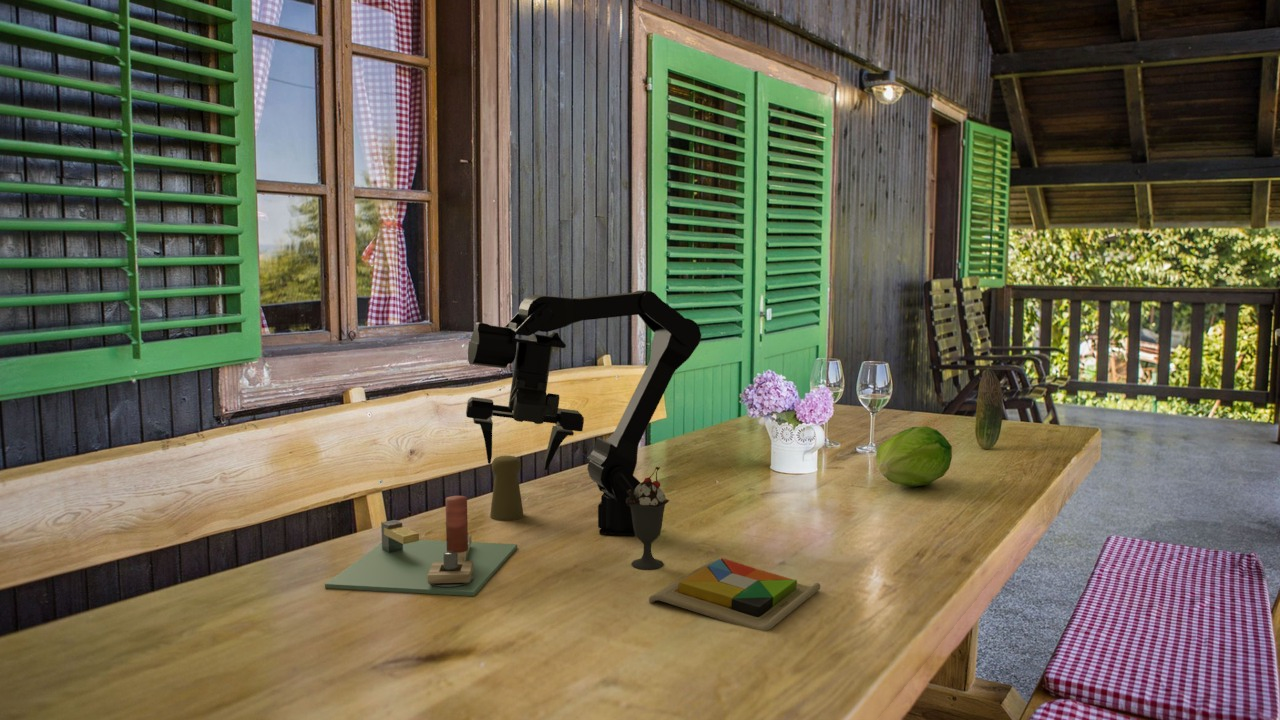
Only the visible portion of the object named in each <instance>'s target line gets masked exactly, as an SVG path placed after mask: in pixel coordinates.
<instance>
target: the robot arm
mask: <svg viewBox="0 0 1280 720" xmlns="http://www.w3.org/2000/svg"><path fill="white" fill-rule="evenodd" d="M636 315H637V316H639V319H640V320H642V322H643V323H644V324H645V326H647V327H648V328H649V330H651V331H652V332H653V333H654V334H653V337H652V340H651V344H650V358H649V362H648V363H647V366H646V367H645V370H644V372H643V374H642V376H641V378H640V380H639V382H638V383H637V386H636V388H635V390H634V391H633V394H632V396H631V398H630V399H629V401H628V404H627V406H626V408H625V410H624V412H623V413H622V416H621V418H620V420H619V422H618V424H617V425H616V428H615V430H614V431H613V433H612V434H611V435H610V436H609V437H607V438H606V439H603V438H601V437H598V438H597V439H596V441H595V444H594V446H593V450H592V451H591V453H590V454H589V455H588V456H586V459H587V460H589V461H588V464H587V471H588V472H587V473H588V474H589V478H590V479H591V480H592V481H593V482H594V483H596V484H597V485H596V486H597V487H598V491H600V492H602V495H601V497H600V502H599V503H598V505H597V527H598V528H599V531H598V533H599V534H600V535H611V536H612V535H614V536H635V537H636V535H635V533H634V528H633V521H632V513H631V508H630V506H627V504H626V499H627V498H628V497H630V496H629V495H628V492H627V491H628V490H629V489H631V491H632V492H633V494H634V491H635V488H636V487H637V486H638V485H639V483H641V481H640V480H638V478H636V477H635V475H634V474H635V470H636V467H637V464H638V451H639V450H638V449H639V444H640V443H641V440H642V438H643V436H644V434H645V432H646V430H647V428H648V427H649V424H650V423H651V420H652V418H653V416H654V414H655V412H656V410H657V408H658V405H659V404H660V402H661V400H662V398H663V395H664V394H665V392H666V390H667V388H668V385H669V384H670V382H671V379H672V378H673V376H674V374H675V372H676V371H677V370H678V369H679V368H680V367H681V366H682V365H683V364H684V363H685V362H687V361H688V360H689V359H690V357H692V355H693V353H694V352H695V350H696V349H697V347H698V346H699V344H700V342H701V339H702V332H701V330H700V326H699V325H698V323H697V322H696V321H694V319H690V318H687V317H684V316H683V315H682V314H681V313H680V312H679V311H677V310H676V309H674V308H672V307H671V306H670V305H669V304H667V303H666V302H665V301H664V300H662V299H661V298H660V297H659V296H658V295H657V294H656V293H655V292H653V291H649V290H636V291H634V292H623V293H613V294H603V295H592V296H583V297H574V298H573V297H566V296H565V297H563V296H562V297H561V296H554V295H553V296H552V295H542V294H541V295H540V294H532V295H529V296H528V295H527V296H526V297H525V298H524V299H523V300H522V301H521V302H520V304H519V307H518V312H517V313H515V315H514V316H513V317H512V318H511V319H510V320H509V321H508V322H507V323H506V324H505V325H504V326H498V325H491V324H489V323H484V322H478V321H477V322H476V323H475V328H474V330H473V332H472V335H471V336H470V337H471V338H470V340H469V341H468V347H467V360H468V364H469V365H471V366H472V365H473V366H480V367H488V368H497V369H507V367H508V365H511V364H513V363H514V366H513V367H514V368H513V372H512V373H513V374H512V378H511V379H512V380H511V386H510V391H509V392H510V393H509V398H508V399H509V400H508V406H507V405H501V404H494V401H493V399H490V398H482V397H481V398H480V397H474V396H471V397H470V398H468V399H467V403H466V411H465V416H466V418H470V419H472V420H473V423H474V424H475V425H479V427H480V429H481V432H482V435H483V440H484V446H485V451H486V458H487V464H492V456H493V424H494V422H493V420H492V418H493V417H501V418H509V419H513V420H514V421H516V422H521V423H524V422H529V423H534V424H535V425H541V424H543V423H547V424H554V425H552V427H551V432H550V436H549V441H548V445H547V450H546V454H545V457H544V465H543V470H544V471H547V470H548V469H549V467H550V464H551V462H552V460H553V458H554V456H555V455H556V453H557V450H558V449H559V447H560V446H561V444H562V442H563V441H564V440H565V439H566V438H567V437H568V436H570V437H571V436H573V437H574V434H575V432H583V429H584V423H585V422H584V421H585V419H584V416H583V414H582V413H580V411H579V410H575V409H567V408H560V407H559V405H560V394H558V393H557V394H556V393H551V392H548V393H547V391H548V389H547V388H548V381H549V374H550V368H551V361H552V354H553V348H560V349H566V347H567V345H566V343H565V341H564V340H562V339H561V337H560V334H559V333H558V332H556V330H559V329H561V328H566V327H568V326H570V325H572V324H575V323H578V322H582V321H591V320H599V319H610V318H618V317H627V316H636ZM538 332H543V333H547V332H551V333H550V334H548V335H543V334H538ZM536 333H537V334H536ZM517 335H518V336H525V337H528V338H519V337H516V336H517Z"/></svg>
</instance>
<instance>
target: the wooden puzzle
mask: <svg viewBox="0 0 1280 720" xmlns="http://www.w3.org/2000/svg"><path fill="white" fill-rule="evenodd" d="M819 590H821V584H820V583H818V582H816V583H814V584H812V586H808V585H805V584H801V583H798V580H797V579H793V578H790V577H787V576H783V575H779V574H777V573H772V572H769V571H765V570H761V569H758V568H755V567H752V566H749V565H745V564H743V563H739V562H737V561H733V560H730V559H726V558H723V557H721V558H718V559H717V560H710V561H708V562H706V563H705V564H703V565H701V566H700V567H698V568H697V569H695V570H694V571H692V572H690V573H688V574H686V575H685V576H684V577H681V578H680V579H678V580H676V581H675V582H672V583H670V584H669V585H668V586H666V587H664V588H662V589H661V590H659V591H657V592H655V593H653V594H651V595H650V596H649V597H648V602H649V604H654V603H656V602H658V601H660V602H664V603H666V604H669V605H672V606H675V607H679V608H682V609H684V610H689V611H692V612H694V613H698V614H701V615H704V616H707V617H710V618H713V619H716V620H718V621H722V622H725V623H729V624H733V625H735V626H740V627H743V628H748V629H753V630H757V631H761V632H768V631H770V630H771V629H773V628H774V627H775V626H777V625H778V624H779V623H780V622H781V621H783V619H785V618H786V617H787V616H788V615H789V614H791V613H792V612H793V611H795V610H796V609H797V608H798V607H800V606H801V605H802V604H803V603H805V602H806V601H807V600H808V599H810V598H811V597H812V596H814V594H816V593H817V592H818V591H819Z"/></svg>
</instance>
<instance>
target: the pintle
mask: <svg viewBox="0 0 1280 720" xmlns="http://www.w3.org/2000/svg"><path fill="white" fill-rule="evenodd" d="M443 557H444V572H445V571H458V552H456V551H447V552H444V553H443ZM473 580H474V576H473V574H472V575H471V579H470V582H466V583H429V584H430V585H432V586H435V587H440V588H453V587H460V586H464V585H467V584H469V583H471V582H472V581H473Z"/></svg>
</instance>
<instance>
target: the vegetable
mask: <svg viewBox="0 0 1280 720" xmlns="http://www.w3.org/2000/svg"><path fill="white" fill-rule="evenodd" d="M977 391H978V393H977V399H976V401H977V402H976V410H975V412H976V413H975V427H974V429H975V430H974V431H975V433H974V434H975V439H976V443H977V444H978V446H979V447H980V448H981V449H984V450H990V449H991V448H993V447H994V446H995V445H996V444H997V443H998V440H999V438H1000V434H1001V429H1002V425H1003V417H1004V416H1003V415H1004V414H1003V413H1004V406H1003V405H1004V404H1003V403H1004V402H1003V392H1002V385H1001V382H1000V380H999V378H998V376H997V375H996V372H995V371H994V370H993V369H992V368H990V367H988V368H985V369H984V370H983V372H982V376H981V378H980V381H979V385H978V390H977Z"/></svg>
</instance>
